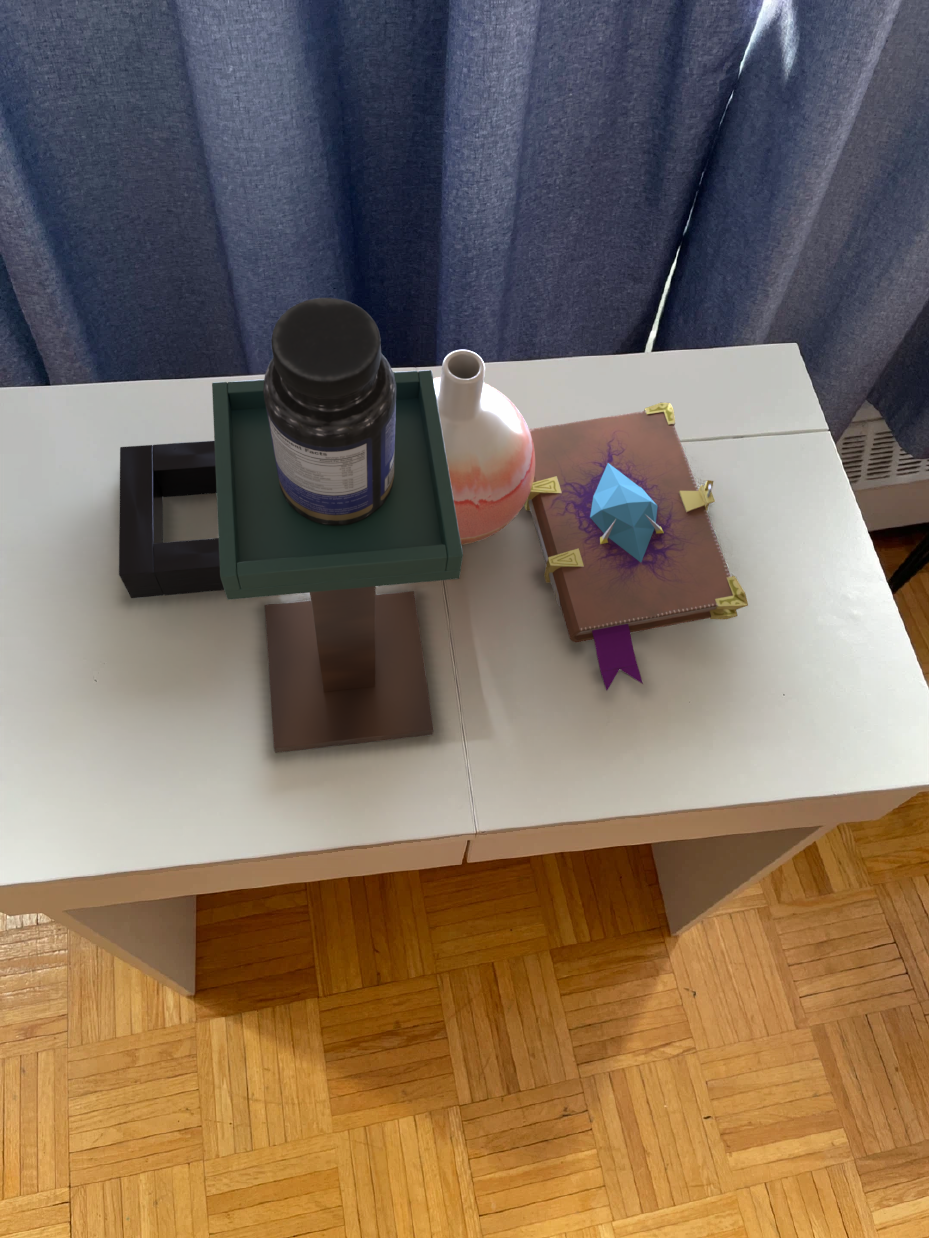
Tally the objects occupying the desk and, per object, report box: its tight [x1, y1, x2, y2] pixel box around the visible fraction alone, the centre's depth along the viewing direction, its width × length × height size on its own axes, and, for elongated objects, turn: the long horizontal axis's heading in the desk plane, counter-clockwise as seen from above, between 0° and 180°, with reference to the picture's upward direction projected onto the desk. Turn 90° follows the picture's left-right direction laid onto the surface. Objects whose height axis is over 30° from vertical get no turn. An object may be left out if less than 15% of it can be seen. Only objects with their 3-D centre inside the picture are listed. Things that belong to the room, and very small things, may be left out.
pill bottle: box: [263, 297, 396, 526], centre depth 45 cm, size 6×6×11 cm
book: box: [523, 402, 749, 692], centre depth 79 cm, size 16×25×5 cm, turn 12°
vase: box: [433, 349, 535, 546], centre depth 74 cm, size 14×14×18 cm
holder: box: [118, 440, 225, 599], centre depth 77 cm, size 12×12×4 cm
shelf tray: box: [211, 369, 464, 601], centre depth 50 cm, size 12×12×2 cm
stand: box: [264, 586, 434, 754], centre depth 62 cm, size 12×12×26 cm
